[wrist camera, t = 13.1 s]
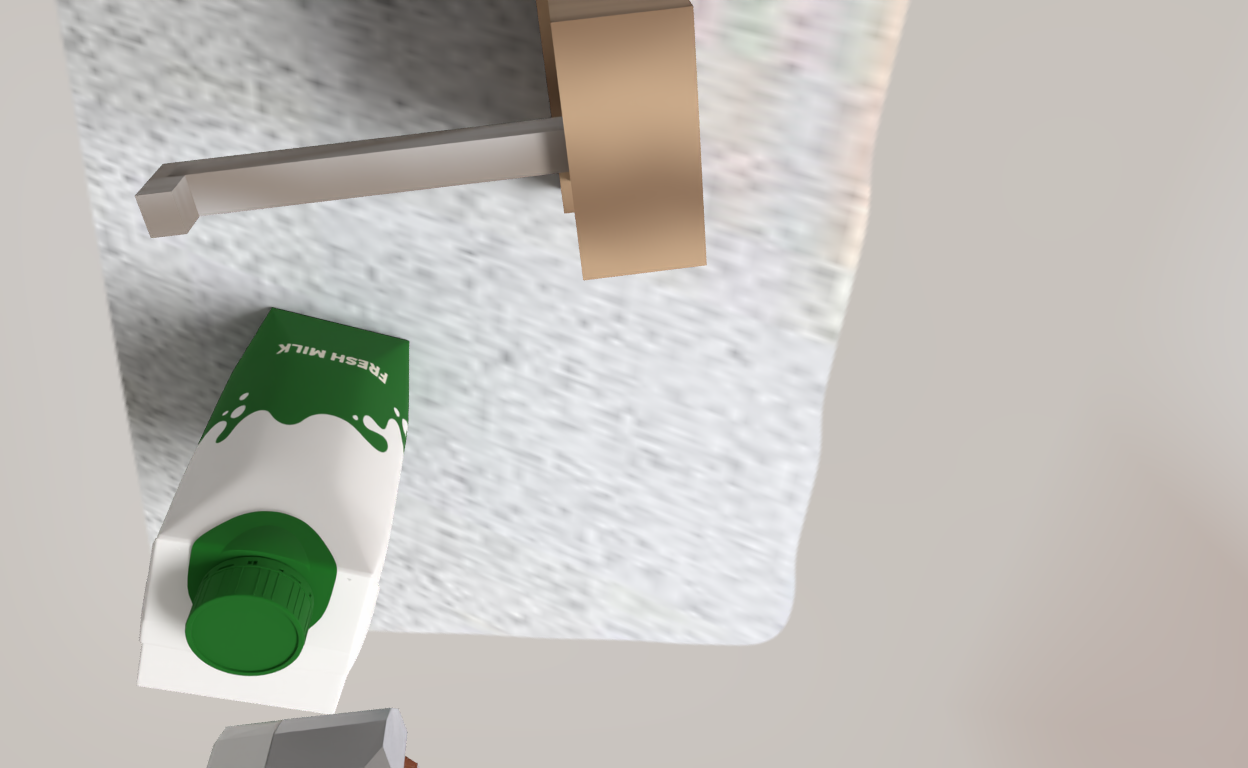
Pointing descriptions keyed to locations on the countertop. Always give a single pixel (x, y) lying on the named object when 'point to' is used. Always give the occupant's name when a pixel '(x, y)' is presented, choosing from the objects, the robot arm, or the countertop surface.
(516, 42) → the countertop surface
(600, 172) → the wooden peg hook block
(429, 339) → the countertop surface
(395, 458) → the milk carton
